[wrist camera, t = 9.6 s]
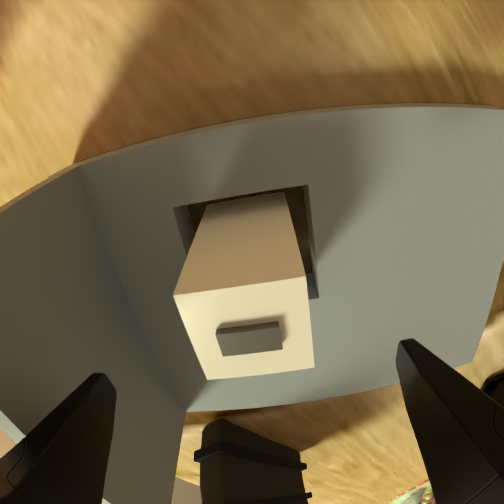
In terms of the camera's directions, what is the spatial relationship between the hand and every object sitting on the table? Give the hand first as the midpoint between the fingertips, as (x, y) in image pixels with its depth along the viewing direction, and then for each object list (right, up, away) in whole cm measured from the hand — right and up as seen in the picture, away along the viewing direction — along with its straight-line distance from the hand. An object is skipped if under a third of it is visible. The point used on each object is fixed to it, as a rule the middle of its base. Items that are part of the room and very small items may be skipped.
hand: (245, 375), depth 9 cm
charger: (0, +5, +9) cm, 10 cm away
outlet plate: (+4, +2, +10) cm, 11 cm away
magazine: (+1, -16, +20) cm, 25 cm away
